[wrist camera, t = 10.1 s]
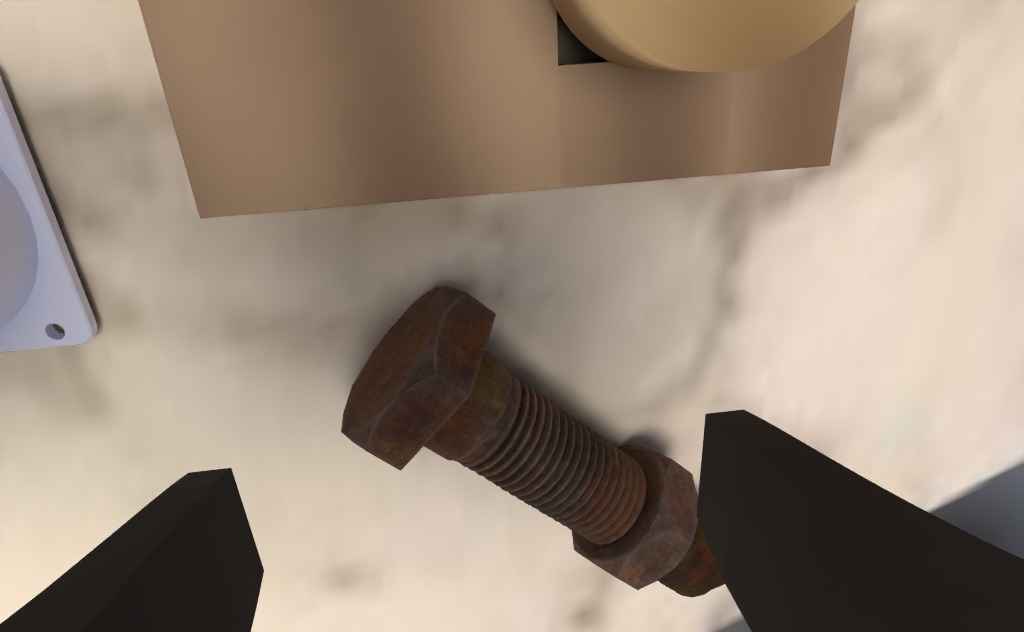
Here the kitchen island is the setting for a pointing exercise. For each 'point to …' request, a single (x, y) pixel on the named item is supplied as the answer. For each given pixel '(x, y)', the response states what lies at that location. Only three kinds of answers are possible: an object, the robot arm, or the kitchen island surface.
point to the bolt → (526, 446)
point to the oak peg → (700, 31)
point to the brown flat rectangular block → (457, 104)
